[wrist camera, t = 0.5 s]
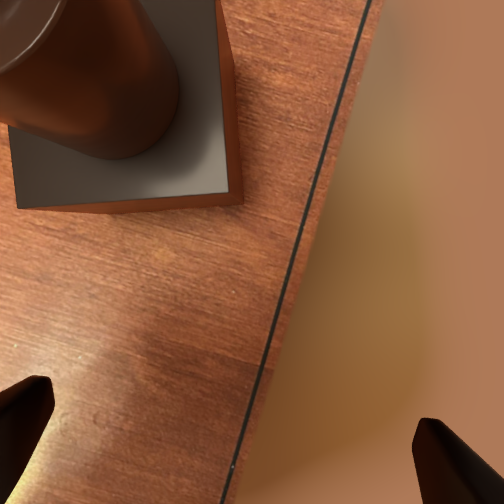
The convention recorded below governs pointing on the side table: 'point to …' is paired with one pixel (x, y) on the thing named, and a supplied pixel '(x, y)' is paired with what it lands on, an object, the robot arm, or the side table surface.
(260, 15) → the side table surface
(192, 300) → the side table surface
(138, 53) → the pepper mill
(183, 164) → the block
